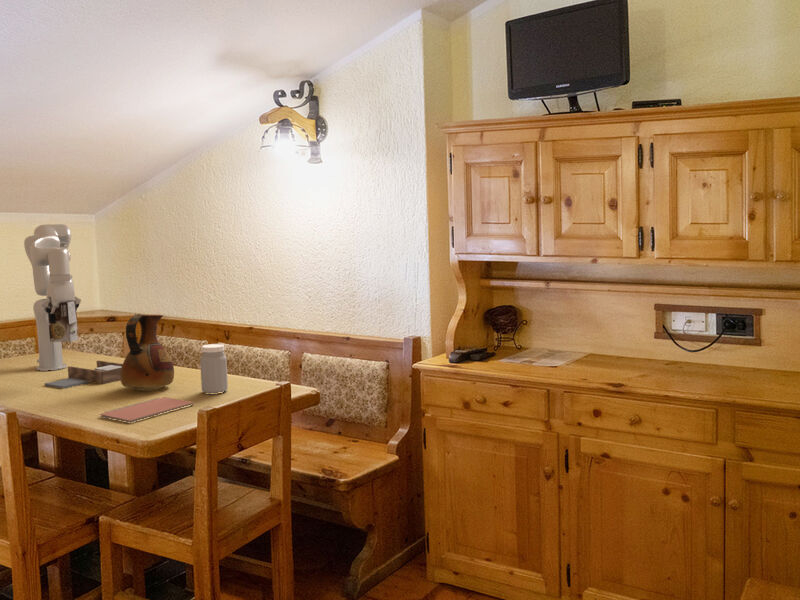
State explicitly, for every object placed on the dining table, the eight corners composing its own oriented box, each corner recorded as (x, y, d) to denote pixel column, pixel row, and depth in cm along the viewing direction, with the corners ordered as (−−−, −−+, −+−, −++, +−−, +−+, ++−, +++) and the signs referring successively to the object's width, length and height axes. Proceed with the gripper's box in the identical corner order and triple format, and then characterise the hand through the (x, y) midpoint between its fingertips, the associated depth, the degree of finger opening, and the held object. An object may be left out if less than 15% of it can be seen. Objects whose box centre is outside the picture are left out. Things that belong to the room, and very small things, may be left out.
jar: (211, 396, 281) (209, 348, 279) (196, 392, 287) (194, 346, 285) (233, 391, 288) (231, 345, 286) (217, 387, 295) (215, 342, 293)
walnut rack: (68, 378, 317) (67, 366, 316) (99, 371, 330) (98, 360, 329) (103, 384, 305) (102, 371, 304) (134, 376, 318) (133, 365, 317)
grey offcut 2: (102, 381, 311) (101, 369, 310) (118, 377, 318) (117, 365, 317) (108, 382, 309) (107, 370, 308) (124, 378, 315) (124, 366, 315)
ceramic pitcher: (185, 385, 301) (181, 310, 297) (152, 396, 282) (148, 317, 278) (144, 382, 307) (140, 309, 304) (110, 393, 288) (105, 316, 285)
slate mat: (44, 385, 304) (44, 383, 303) (71, 379, 314) (71, 377, 314) (62, 389, 297) (62, 386, 297) (89, 382, 307) (89, 380, 307)
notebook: (162, 401, 277) (162, 395, 277) (194, 406, 268) (194, 401, 268) (98, 418, 254) (97, 412, 254) (130, 425, 245) (129, 419, 245)
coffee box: (79, 339, 306) (76, 300, 304) (70, 342, 300) (67, 302, 298) (58, 339, 307) (55, 300, 305) (49, 342, 301) (46, 302, 299)
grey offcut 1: (95, 380, 313) (94, 368, 313) (112, 376, 320) (111, 365, 319) (100, 381, 311) (100, 369, 311) (117, 377, 318) (117, 365, 317)
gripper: (73, 277, 310) (76, 318, 312) (34, 280, 295) (37, 324, 297) (84, 277, 306) (87, 319, 308) (45, 281, 291) (48, 325, 293)
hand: (62, 321), depth 303 cm, fingers closed on coffee box, 8 cm apart
